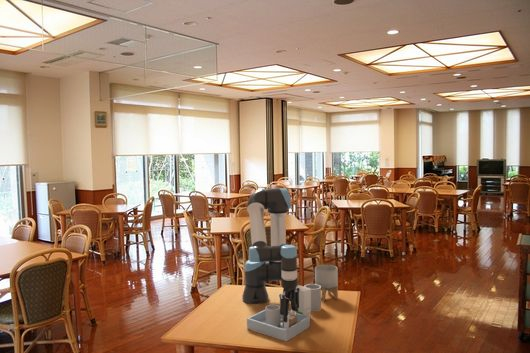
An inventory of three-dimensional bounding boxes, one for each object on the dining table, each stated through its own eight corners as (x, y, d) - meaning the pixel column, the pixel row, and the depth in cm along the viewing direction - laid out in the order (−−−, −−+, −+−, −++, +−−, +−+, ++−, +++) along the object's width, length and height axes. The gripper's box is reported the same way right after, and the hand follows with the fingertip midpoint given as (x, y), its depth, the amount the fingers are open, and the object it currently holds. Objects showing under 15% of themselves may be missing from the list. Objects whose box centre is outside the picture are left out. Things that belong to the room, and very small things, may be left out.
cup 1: (266, 322, 215) (265, 304, 215) (286, 321, 215) (285, 304, 214) (265, 328, 208) (265, 310, 208) (286, 328, 208) (286, 310, 207)
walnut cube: (297, 326, 206) (297, 316, 206) (291, 329, 202) (291, 319, 202) (288, 323, 209) (288, 313, 209) (282, 327, 205) (282, 317, 205)
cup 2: (319, 312, 229) (319, 290, 228) (302, 310, 232) (302, 288, 231) (322, 306, 237) (322, 284, 236) (306, 304, 240) (306, 283, 239)
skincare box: (291, 317, 223) (290, 287, 222) (299, 313, 228) (298, 284, 227) (303, 321, 217) (303, 291, 216) (311, 317, 222) (311, 287, 221)
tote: (271, 315, 225) (271, 306, 225) (309, 326, 211) (309, 316, 210) (247, 328, 210) (246, 318, 210) (286, 341, 195) (286, 330, 195)
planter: (334, 303, 241) (334, 272, 240) (312, 300, 247) (311, 269, 245) (340, 295, 253) (340, 265, 252) (319, 292, 258) (319, 263, 257)
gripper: (293, 272, 214) (294, 318, 215) (271, 281, 200) (272, 330, 201) (306, 274, 209) (307, 321, 210) (284, 284, 195) (285, 334, 196)
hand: (290, 325), depth 206 cm, fingers closed on walnut cube, 5 cm apart
